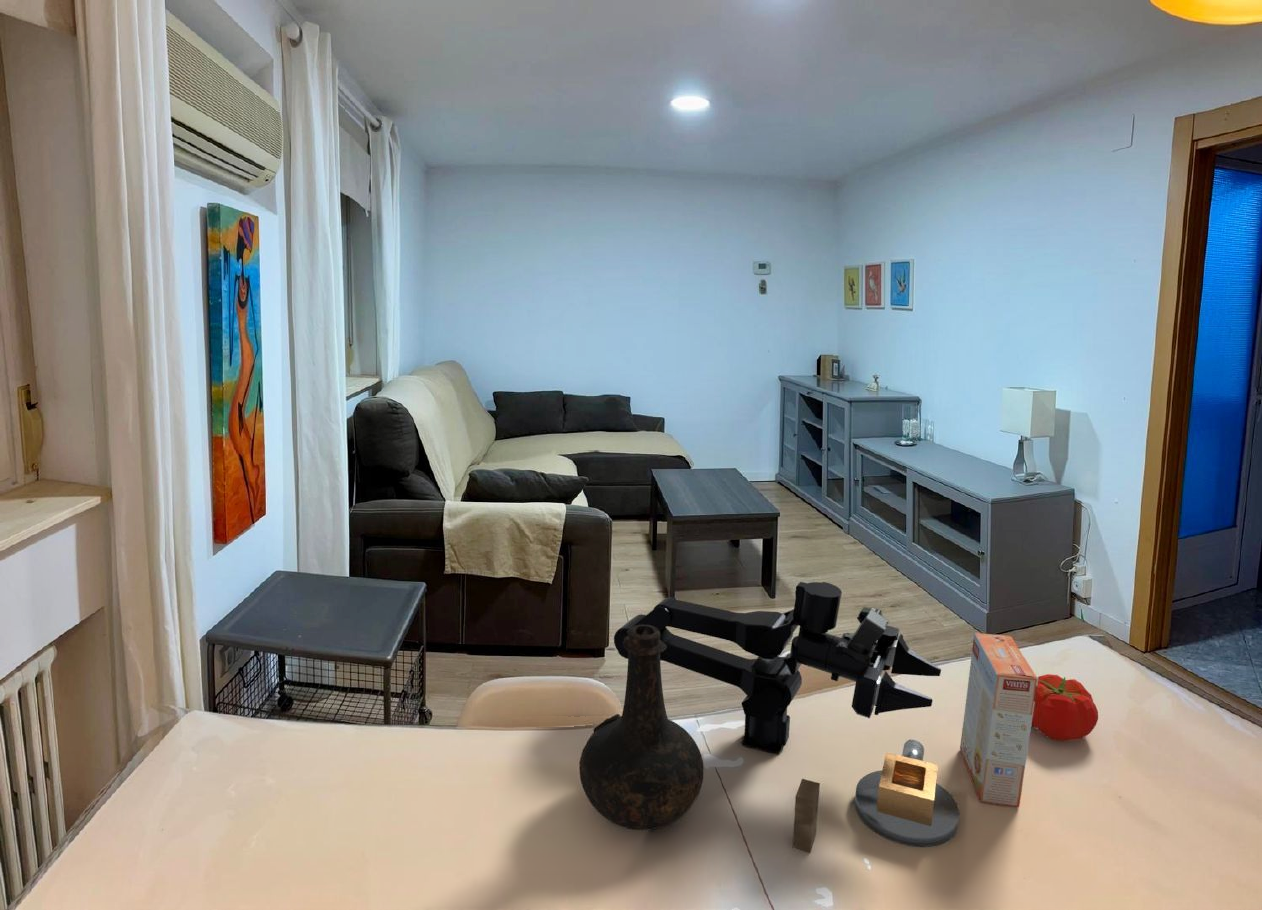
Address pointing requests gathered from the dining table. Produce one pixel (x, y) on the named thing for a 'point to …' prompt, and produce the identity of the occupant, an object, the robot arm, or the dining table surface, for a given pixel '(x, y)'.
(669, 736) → the glass bottle
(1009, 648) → the cracker box
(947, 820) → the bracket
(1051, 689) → the tomato
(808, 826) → the block
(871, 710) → the robot arm
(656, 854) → the dining table surface
